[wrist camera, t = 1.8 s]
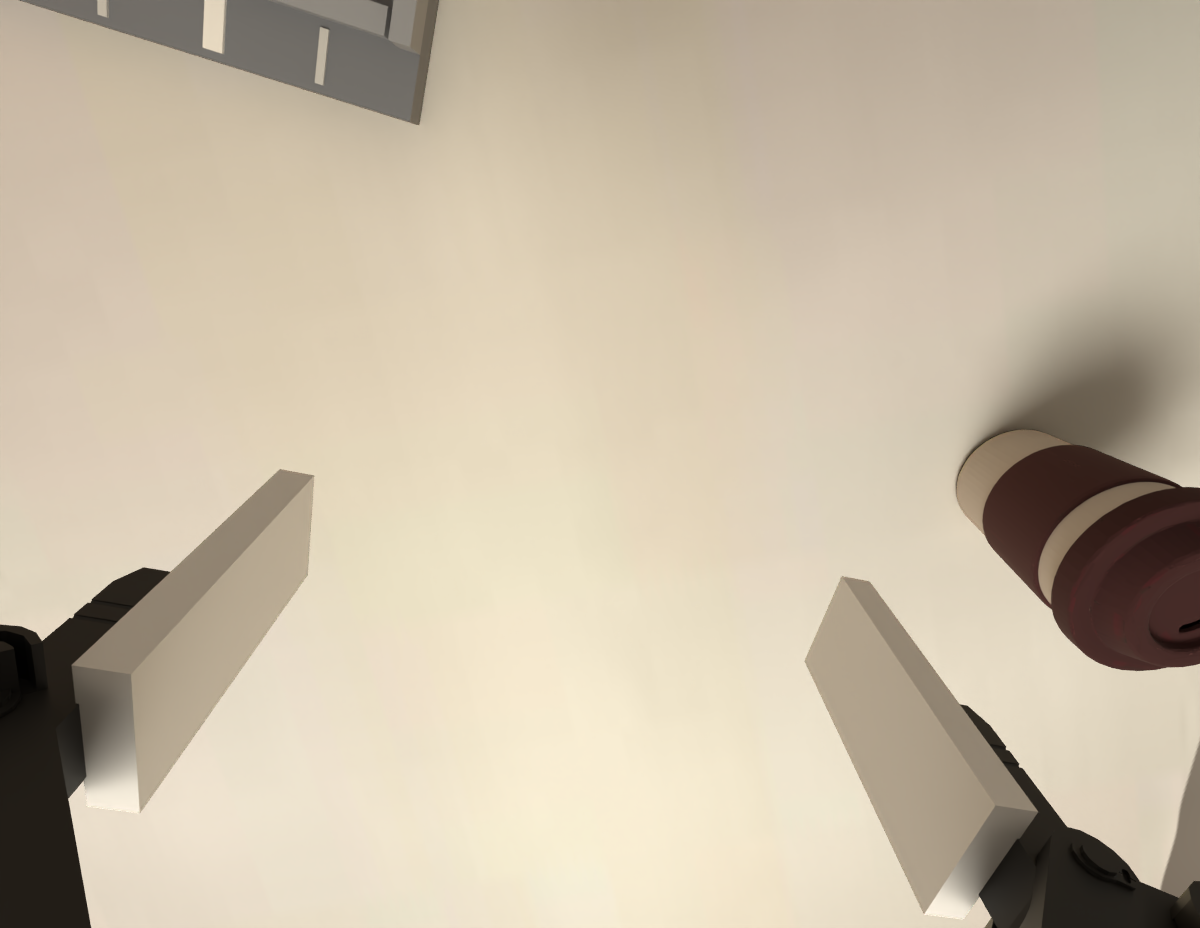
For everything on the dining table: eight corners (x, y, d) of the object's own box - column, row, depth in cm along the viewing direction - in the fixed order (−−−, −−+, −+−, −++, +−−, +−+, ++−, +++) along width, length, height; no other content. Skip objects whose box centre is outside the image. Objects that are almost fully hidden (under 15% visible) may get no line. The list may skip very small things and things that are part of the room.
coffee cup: (953, 405, 42) (1138, 514, 28) (1103, 409, 42) (1359, 518, 28) (918, 540, 45) (1065, 693, 32) (1055, 542, 46) (1259, 695, 32)
